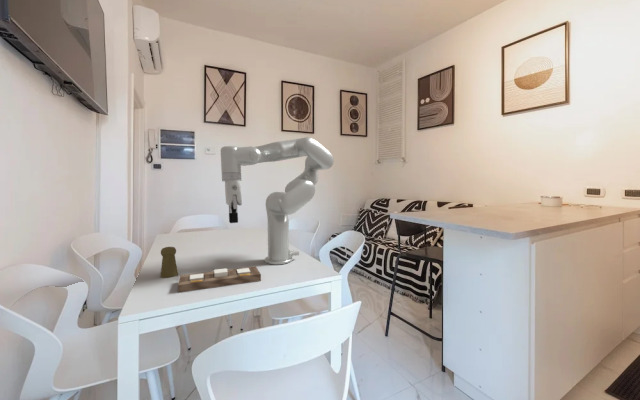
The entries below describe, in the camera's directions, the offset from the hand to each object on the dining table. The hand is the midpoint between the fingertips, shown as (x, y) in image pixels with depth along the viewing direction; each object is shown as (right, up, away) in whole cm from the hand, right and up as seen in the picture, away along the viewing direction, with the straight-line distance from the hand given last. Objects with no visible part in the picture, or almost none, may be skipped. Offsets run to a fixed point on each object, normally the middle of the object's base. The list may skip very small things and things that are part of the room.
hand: (233, 222), depth 111 cm
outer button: (-8, -20, -15) cm, 26 cm away
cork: (-23, -20, -5) cm, 31 cm away
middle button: (-1, -19, -12) cm, 22 cm away
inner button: (+6, -20, -9) cm, 23 cm away
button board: (-1, -21, -12) cm, 24 cm away
